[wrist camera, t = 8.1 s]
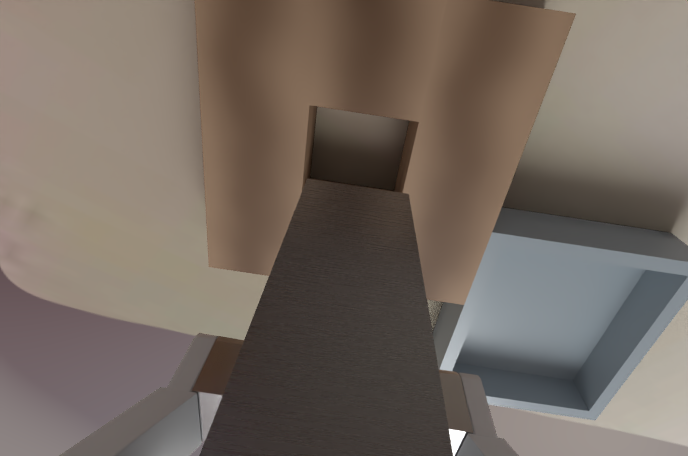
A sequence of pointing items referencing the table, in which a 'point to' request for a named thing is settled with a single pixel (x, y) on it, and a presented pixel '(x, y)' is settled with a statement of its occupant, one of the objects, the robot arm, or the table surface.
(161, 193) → the table surface
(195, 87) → the table surface
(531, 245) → the tray
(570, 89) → the table surface
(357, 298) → the pin
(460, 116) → the block
